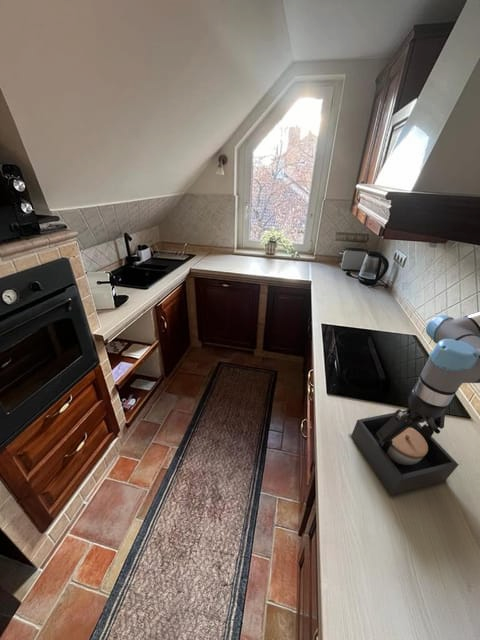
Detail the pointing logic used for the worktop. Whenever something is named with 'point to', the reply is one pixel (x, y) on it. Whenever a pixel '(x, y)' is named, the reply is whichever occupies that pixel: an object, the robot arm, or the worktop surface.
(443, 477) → the tray
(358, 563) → the worktop surface
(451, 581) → the worktop surface
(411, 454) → the trinket box
